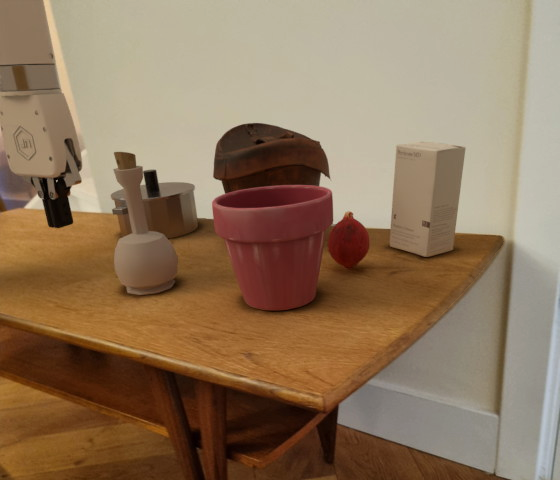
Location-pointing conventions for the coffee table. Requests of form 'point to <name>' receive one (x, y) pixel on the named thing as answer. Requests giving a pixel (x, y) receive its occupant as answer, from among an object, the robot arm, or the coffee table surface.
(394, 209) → the cosmetic box
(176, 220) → the pan
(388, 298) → the coffee table surface
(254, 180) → the chocolate muffin
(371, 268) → the coffee table surface
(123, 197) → the pan lid
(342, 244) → the onion
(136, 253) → the potion bottle
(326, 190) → the flower pot
